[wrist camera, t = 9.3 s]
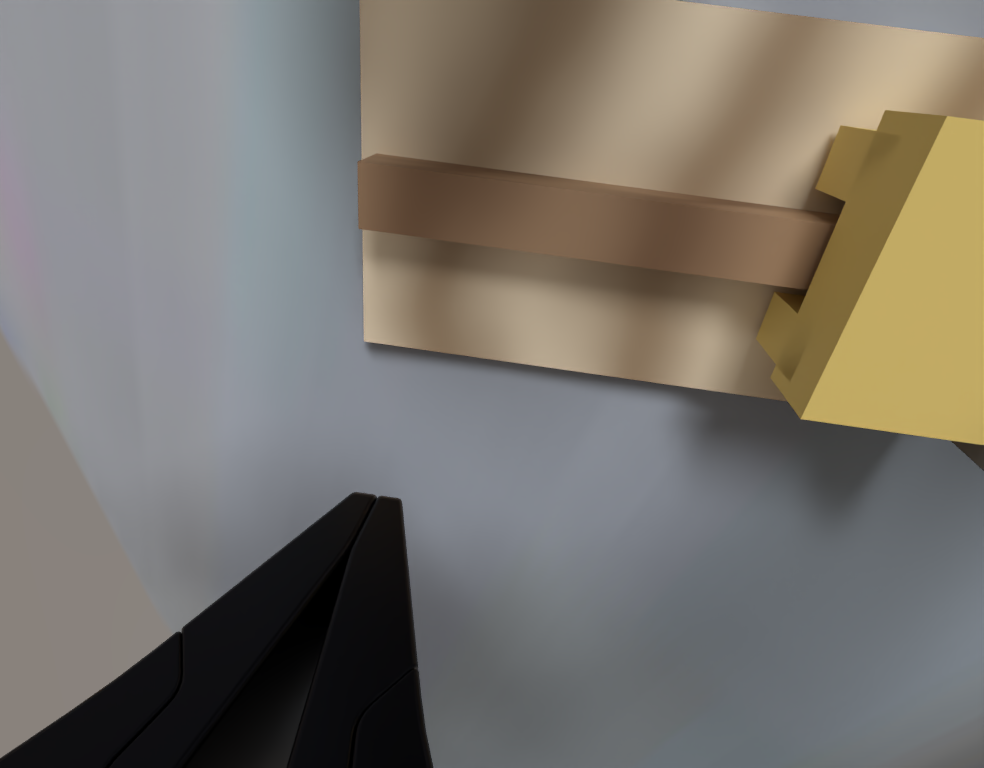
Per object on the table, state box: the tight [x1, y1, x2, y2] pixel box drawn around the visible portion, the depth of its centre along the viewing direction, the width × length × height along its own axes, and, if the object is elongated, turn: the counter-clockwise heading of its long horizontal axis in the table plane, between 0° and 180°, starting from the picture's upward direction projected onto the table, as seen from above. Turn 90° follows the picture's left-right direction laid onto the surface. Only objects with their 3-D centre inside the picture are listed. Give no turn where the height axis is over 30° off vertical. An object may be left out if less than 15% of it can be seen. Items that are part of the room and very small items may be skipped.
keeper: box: [756, 110, 984, 445], centre depth 16 cm, size 6×8×4 cm
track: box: [358, 0, 984, 470], centre depth 16 cm, size 23×12×6 cm, turn 84°
